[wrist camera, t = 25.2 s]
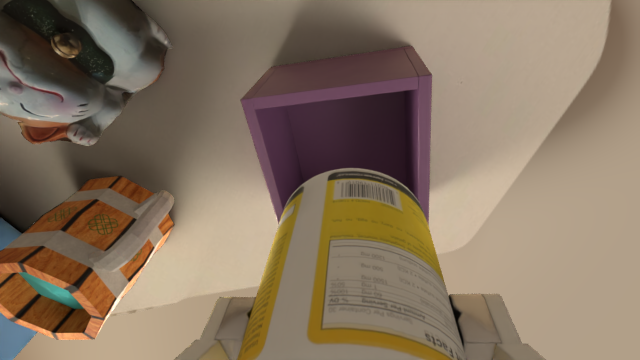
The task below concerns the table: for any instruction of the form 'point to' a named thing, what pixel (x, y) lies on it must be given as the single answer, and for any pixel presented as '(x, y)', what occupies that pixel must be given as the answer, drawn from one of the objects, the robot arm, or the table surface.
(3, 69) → the lucky cat figurine
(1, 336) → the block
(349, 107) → the box
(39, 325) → the wooden beer tankard
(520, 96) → the table surface
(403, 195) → the pill bottle
